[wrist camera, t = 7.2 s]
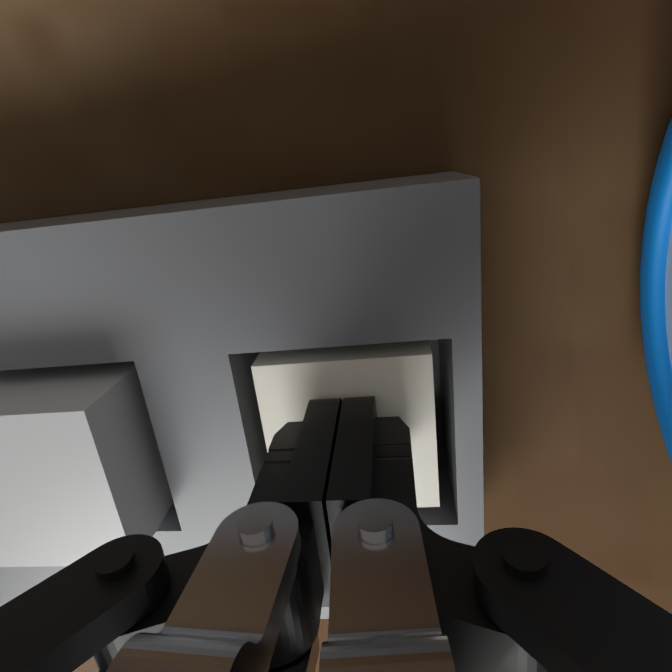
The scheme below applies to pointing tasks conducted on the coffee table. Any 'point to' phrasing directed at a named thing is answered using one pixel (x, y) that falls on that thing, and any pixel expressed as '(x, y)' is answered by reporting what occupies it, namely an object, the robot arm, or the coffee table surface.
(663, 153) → the alarm clock
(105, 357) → the keypad
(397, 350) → the key near ivory
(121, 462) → the key mid grey
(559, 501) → the coffee table surface
